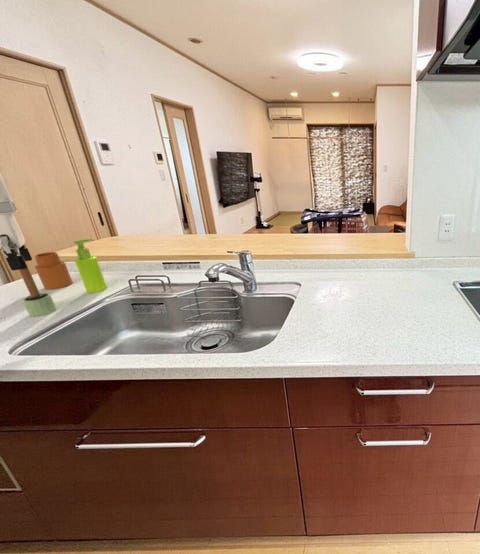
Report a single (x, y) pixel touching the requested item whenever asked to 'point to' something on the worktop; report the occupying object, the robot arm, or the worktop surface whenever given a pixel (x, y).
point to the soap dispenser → (89, 268)
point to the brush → (30, 285)
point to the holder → (40, 306)
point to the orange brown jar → (52, 271)
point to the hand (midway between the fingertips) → (22, 265)
